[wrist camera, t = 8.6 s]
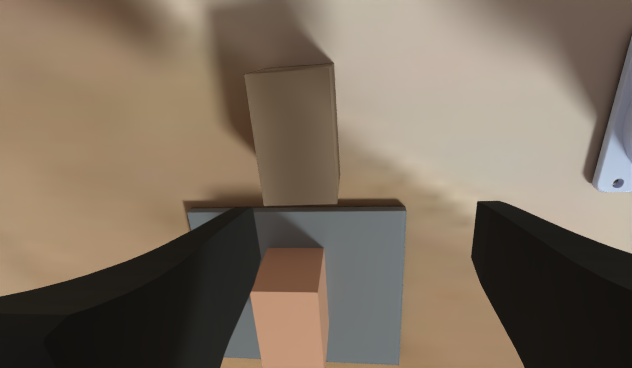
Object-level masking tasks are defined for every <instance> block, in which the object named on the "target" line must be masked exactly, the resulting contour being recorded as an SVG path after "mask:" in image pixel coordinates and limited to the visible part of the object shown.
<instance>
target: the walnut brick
mask: <svg viewBox="0 0 632 368" xmlns="http://www.w3.org/2000/svg"><path fill="white" fill-rule="evenodd" d="M244 78H245V84H246V91H247V98H248V104H249V111H250V118H251V124H252V131H253V137H254V144H255V151H256V157H257V164H258V171H259V177H260V184H261V190H262V197H263V204H264V206H285V205H322V204H337V201H338V191H339V180H340V164H339V146H338V128H337V110H336V91H335V73H334V63H329V64H316V65H304V66H291V67H278V68H266V69H262V70H259V71H255V72H252V73H248V74H244Z"/></svg>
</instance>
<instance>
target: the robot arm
mask: <svg viewBox="0 0 632 368" xmlns="http://www.w3.org/2000/svg"><path fill="white" fill-rule="evenodd" d="M616 179H618V182H617V183H616V184H614V185H613V182H614V181H615V180H616ZM592 185H593V187H594V188H596V189H597V190H599V191H601V192H632V37H631V41H630V44H629V48H628V52H627V55H626V59H625V63H624V67H623V70H622V74H621V78H620V81H619V85H618V89H617V92H616V96H615V100H614V104H613V107H612V111H611V115H610V118H609V122H608V126H607V129H606V133H605V137H604V141H603V144H602V148H601V152H600V155H599V159H598V163H597V166H596V170H595V174H594V178H593V181H592ZM471 258H472V261H473V264H474V267H475V270H476V273H477V275H478V278H479V281H480V283H481V286H482V287H483V289H484V291H485V293H486V295H487V297H488V299H489V301H490V303H491V304H492V306H493V308H494V310H495V312H496V314H497V316H498V317H499V319H500V321H501V323H502V325H503V326H504V328H505V330H506V332H507V334H508V336H509V338H510V339H511V341H512V343H513V345H514V347H515V349H516V351H517V353H518V355H519V357H520V359H521V361H522V363H523V365H524V367H525V368H632V254H631V253H628V252H625V251H622V250H619V249H616V248H613V247H610V246H607V245H604V244H602V243H599V242H597V241H594V240H591V239H589V238H586V237H584V236H581V235H579V234H576V233H574V232H571V231H569V230H567V229H564V228H562V227H560V226H557V225H555V224H553V223H551V222H548V221H546V220H544V219H542V218H539V217H537V216H535V215H533V214H530V213H528V212H526V211H524V210H521V209H519V208H517V207H514V206H512V205H509V204H507V203H504V202H501V201H477V210H476V219H475V228H474V237H473V246H472V254H471ZM260 261H261V254H260V248H259V242H258V235H257V229H256V223H255V217H254V211H253V207H235V208H232V209H230V210H228V211H226V212H224V213H222V214H220V215H218V216H216V217H215V218H213V219H211V220H209V221H208V222H206V223H204V224H202V225H200V226H199V227H197V228H195V229H193V230H192V231H190V232H188V233H186V234H184V235H182V236H180V237H178V238H176V239H174V240H172V241H171V242H169V243H167V244H165V245H163V246H161V247H159V248H156V249H154V250H152V251H150V252H148V253H145V254H143V255H140V256H138V257H136V258H133V259H131V260H128V261H126V262H123V263H120V264H117V265H114V266H112V267H109V268H106V269H103V270H100V271H97V272H94V273H91V274H88V275H85V276H82V277H78V278H75V279H72V280H68V281H65V282H61V283H57V284H53V285H50V286H46V287H42V288H38V289H34V290H29V291H25V292H20V293H15V294H11V295H6V296H1V297H0V368H220V366H221V363H222V360H223V357H224V354H225V351H226V349H227V346H228V344H229V341H230V339H231V336H232V334H233V332H234V330H235V327H236V325H237V323H238V320H239V318H240V316H241V314H242V311H243V309H244V307H245V305H246V302H247V300H248V298H249V295H250V293H251V291H252V288H253V286H254V283H255V280H256V276H257V273H258V269H259V265H260Z"/></svg>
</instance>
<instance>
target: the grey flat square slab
mask: <svg viewBox="0 0 632 368" xmlns="http://www.w3.org/2000/svg"><path fill="white" fill-rule="evenodd" d="M230 209H232V208H191V209H190V210H189V211H188V212H187V214H188V219H189V223H190V228H191V231H192V230H193V229H195V228H197V227H199V226H200V225H202V224H204V223H206V222H208V221H209V220H211V219H213V218H215V217H216V216H218V215H220V214H222V213H224V212H226V211H228V210H230ZM253 211H254V217H255V223H256V229H257V235H258V242H259V248H260V254H261V261H260V265H261V263H262V261H263V258H264V256H265V253H266V251H267V249H268V248H324V255H325V270H326V285H327V300H328V315H329V331H328V343H327V355H326V362H341V363H364V364H386V365H399V356H400V336H401V315H402V294H403V273H404V252H405V231H406V208H405V206H392V207H272V208H253ZM260 265H259V268H260ZM258 270H259V269H258ZM224 357H228V358H250V359H261V355H260V349H259V343H258V337H257V331H256V326H255V320H254V314H253V308H252V303H251V297H250V295H249V298H248V300H247V302H246V305H245V307H244V309H243V311H242V314H241V316H240V318H239V320H238V323H237V325H236V327H235V330H234V332H233V334H232V336H231V339H230V341H229V344H228V346H227V349H226V351H225V354H224Z"/></svg>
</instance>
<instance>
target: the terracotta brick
mask: <svg viewBox="0 0 632 368" xmlns="http://www.w3.org/2000/svg"><path fill="white" fill-rule="evenodd" d="M250 297H251V303H252V308H253V314H254V320H255V326H256V331H257V337H258V343H259V349H260V355H261V360H262V366H263V368H325V367H326V355H327V343H328V331H329V315H328V300H327V285H326V270H325V255H324V248H268V249H267V251H266V253H265V256H264V258H263V261H262V263H261V265H260V268H259V270H258V273H257V276H256V280H255V283H254V286H253V288H252V291H251V293H250Z"/></svg>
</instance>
